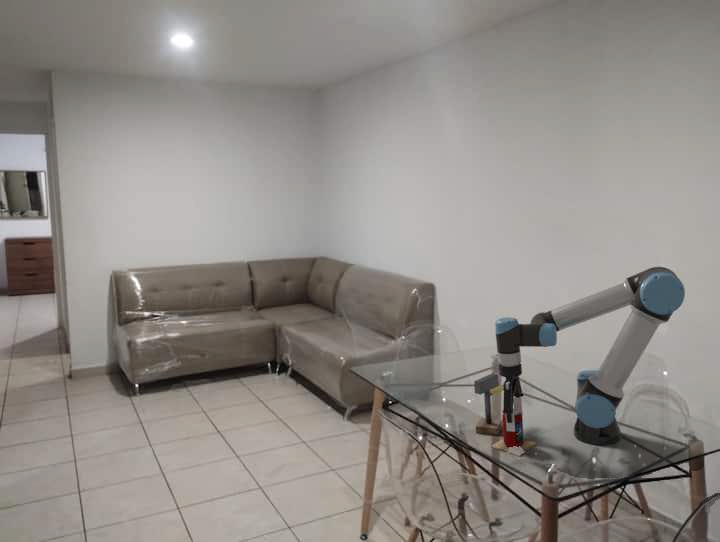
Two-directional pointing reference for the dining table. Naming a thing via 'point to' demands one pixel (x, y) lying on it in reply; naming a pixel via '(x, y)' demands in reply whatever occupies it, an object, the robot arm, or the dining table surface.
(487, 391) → the t key
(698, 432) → the dining table surface
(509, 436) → the beverage can
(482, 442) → the dining table surface
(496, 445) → the mat
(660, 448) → the dining table surface
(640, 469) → the dining table surface
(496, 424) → the latch housing
